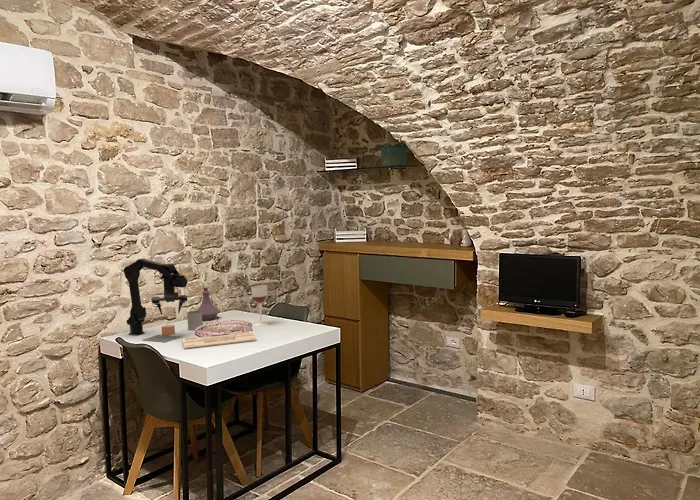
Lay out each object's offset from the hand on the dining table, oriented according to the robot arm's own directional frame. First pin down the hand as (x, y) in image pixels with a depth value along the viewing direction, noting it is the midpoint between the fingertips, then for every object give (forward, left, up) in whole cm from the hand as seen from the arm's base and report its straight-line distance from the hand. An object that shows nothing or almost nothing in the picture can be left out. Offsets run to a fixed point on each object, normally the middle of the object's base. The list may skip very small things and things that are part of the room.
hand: (170, 314), depth 309 cm
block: (-4, +2, -13) cm, 13 cm away
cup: (+2, +18, -13) cm, 22 cm away
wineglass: (+34, +39, -13) cm, 53 cm away
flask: (-9, +43, -13) cm, 46 cm away
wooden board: (+35, -2, -13) cm, 37 cm away
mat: (-1, -7, -12) cm, 14 cm away
